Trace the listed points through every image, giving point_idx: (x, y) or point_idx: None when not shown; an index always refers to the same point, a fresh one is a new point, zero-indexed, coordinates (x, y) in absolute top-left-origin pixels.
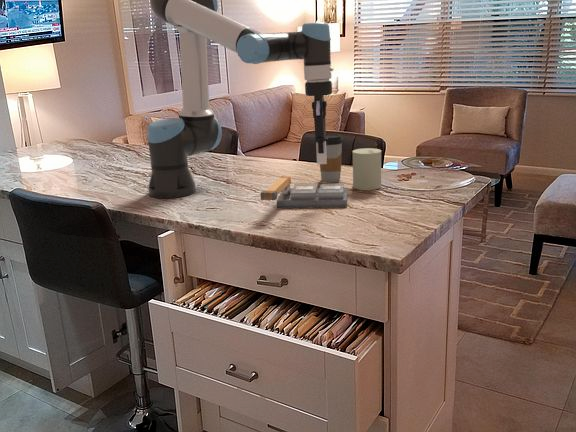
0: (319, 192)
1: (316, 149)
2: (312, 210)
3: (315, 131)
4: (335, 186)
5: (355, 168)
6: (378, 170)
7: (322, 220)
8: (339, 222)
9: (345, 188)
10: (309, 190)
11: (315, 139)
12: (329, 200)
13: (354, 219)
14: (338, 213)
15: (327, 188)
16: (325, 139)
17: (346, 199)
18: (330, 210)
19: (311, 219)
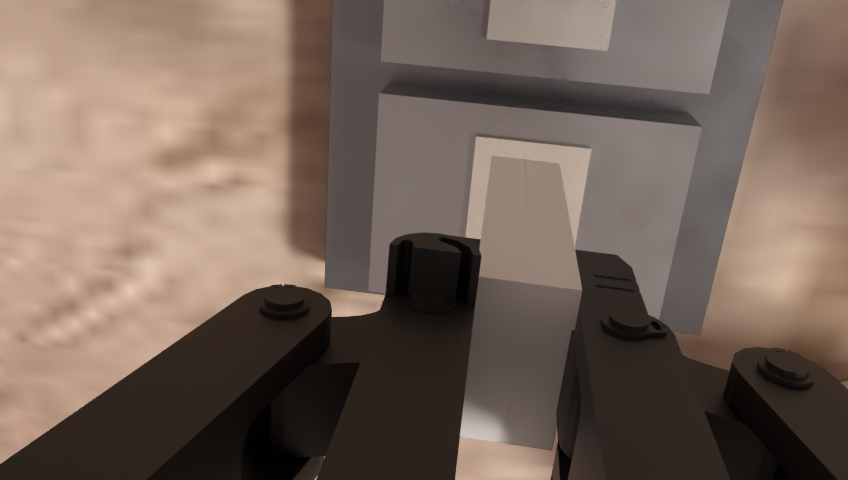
0: (382, 100)
1: (484, 225)
2: (265, 15)
3: (109, 402)
4: None
5: None
6: None
7: (33, 82)
8: (4, 188)
9: (677, 316)
10: (469, 6)
11: (264, 295)
12: (329, 164)
13: (70, 280)
14: (190, 198)
15: (488, 178)
16: (554, 463)
17: (342, 288)
18: (261, 150)
19: (47, 4)
